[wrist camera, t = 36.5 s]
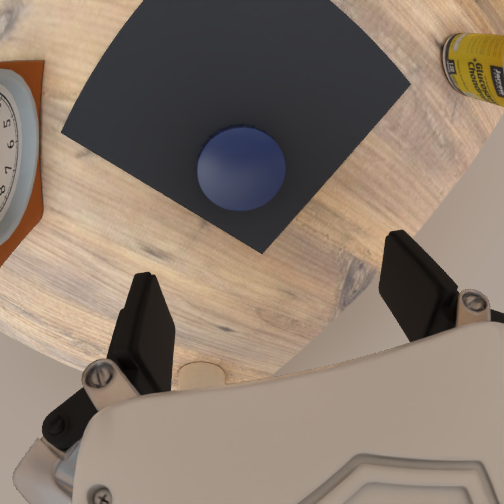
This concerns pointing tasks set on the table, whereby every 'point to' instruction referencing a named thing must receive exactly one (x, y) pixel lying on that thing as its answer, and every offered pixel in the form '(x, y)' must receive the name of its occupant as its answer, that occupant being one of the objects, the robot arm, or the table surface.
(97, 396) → the robot arm
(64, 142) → the table surface
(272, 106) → the mat
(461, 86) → the pill bottle
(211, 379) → the jar
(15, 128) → the alarm clock
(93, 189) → the table surface
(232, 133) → the lid
